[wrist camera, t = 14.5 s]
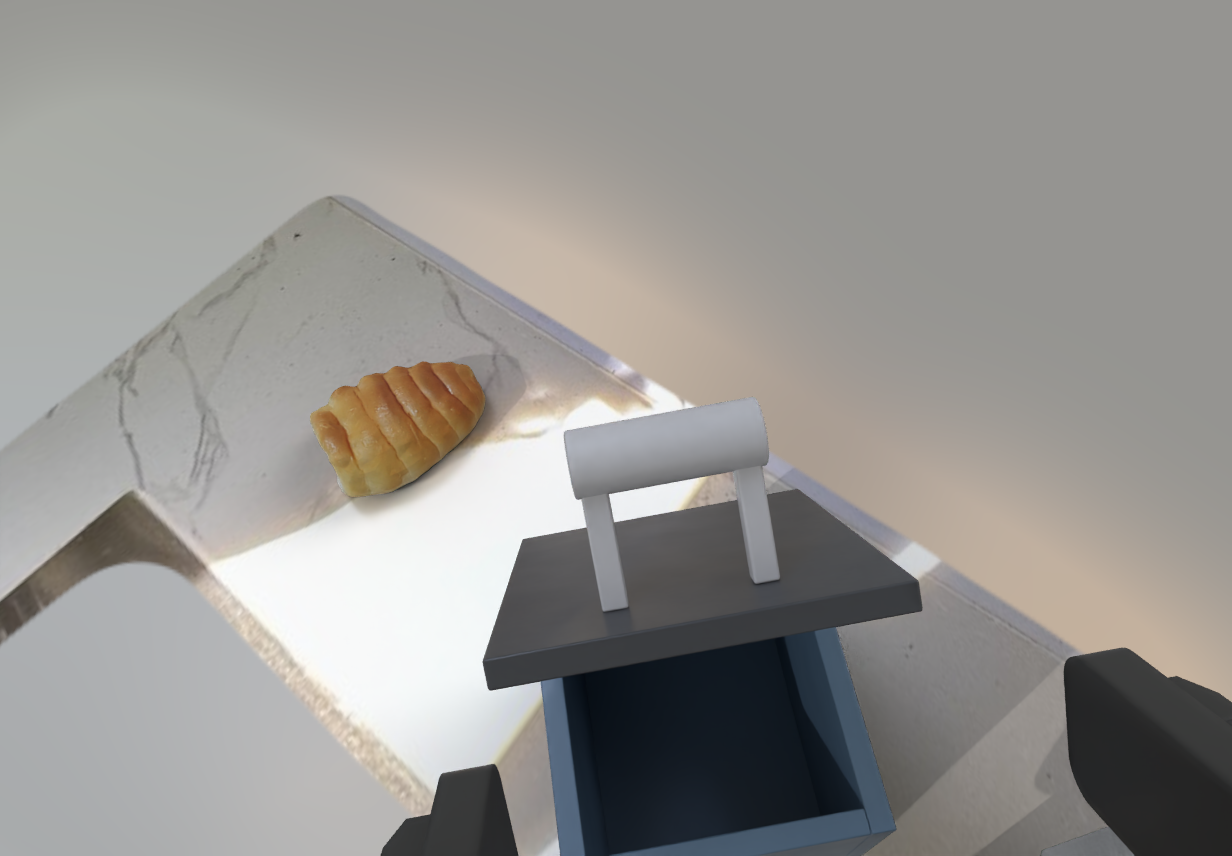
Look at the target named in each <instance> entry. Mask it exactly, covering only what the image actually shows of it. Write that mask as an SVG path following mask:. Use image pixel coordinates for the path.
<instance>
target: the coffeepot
mask: <svg viewBox="0 0 1232 856" xmlns="http://www.w3.org/2000/svg"><path fill="white" fill-rule="evenodd" d="M1040 856H1135V855H1134V854H1133V853H1132V852H1131V851H1130V850H1129V849H1128V847H1127V846H1126V845H1125V844H1124V843H1123V842H1122V841H1121V840H1120V839H1119V837H1118V836H1117V835H1116V834H1115V833H1114V832H1113V831H1112V830H1111V829H1110V827H1106V828H1103V829H1101V830H1098V831H1095V832H1092V833H1089V834H1087V835H1084V836H1081V837H1078V838H1075V839H1072V840H1070V841H1067V842H1064V843H1061V844H1058V845H1055V846H1053V847H1050V848H1047V849H1044V850H1042V852H1041V855H1040Z"/></svg>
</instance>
